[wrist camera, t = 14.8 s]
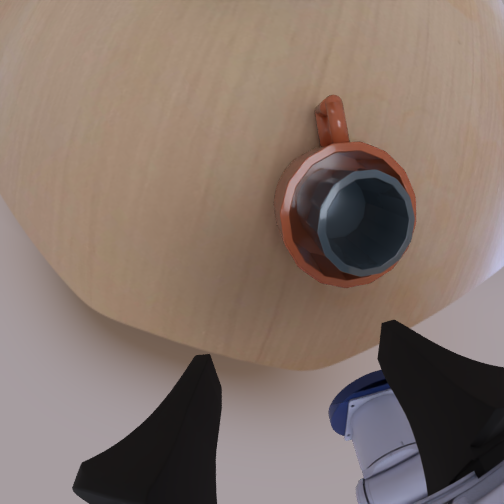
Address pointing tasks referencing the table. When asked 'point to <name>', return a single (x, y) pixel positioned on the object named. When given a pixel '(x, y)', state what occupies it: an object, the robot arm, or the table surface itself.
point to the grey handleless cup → (357, 218)
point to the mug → (327, 156)
